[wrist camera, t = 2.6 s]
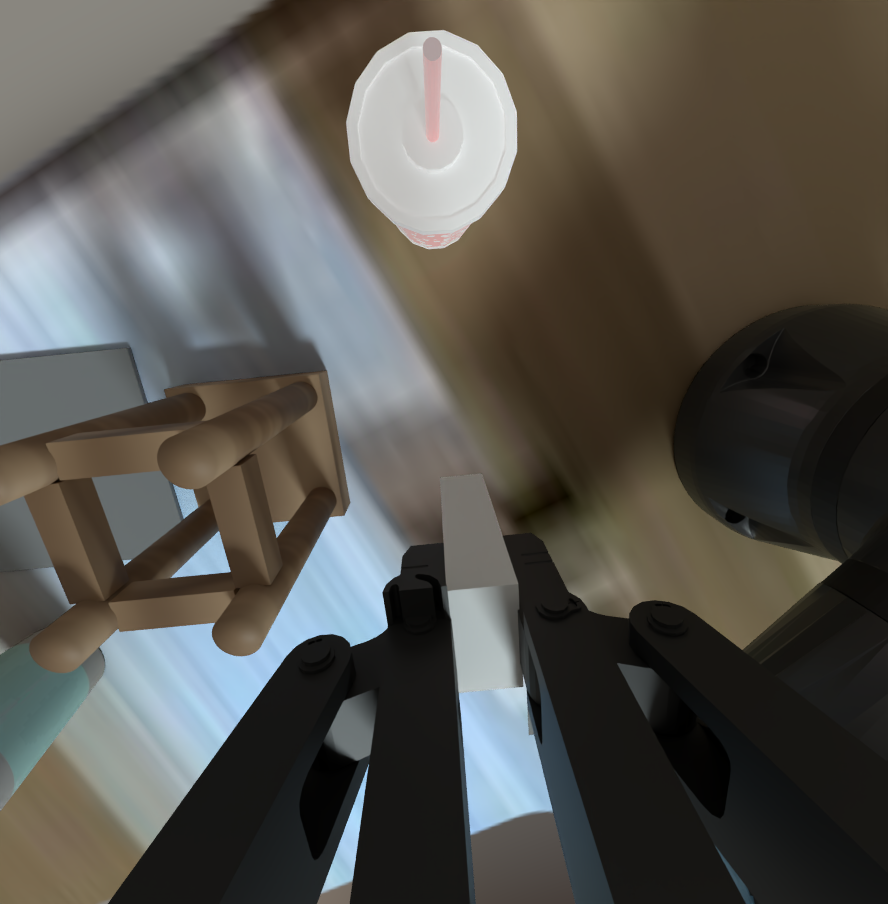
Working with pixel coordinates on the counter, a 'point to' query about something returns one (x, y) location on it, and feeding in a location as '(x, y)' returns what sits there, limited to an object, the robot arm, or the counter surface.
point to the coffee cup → (36, 709)
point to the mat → (66, 403)
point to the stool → (220, 509)
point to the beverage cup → (432, 134)
